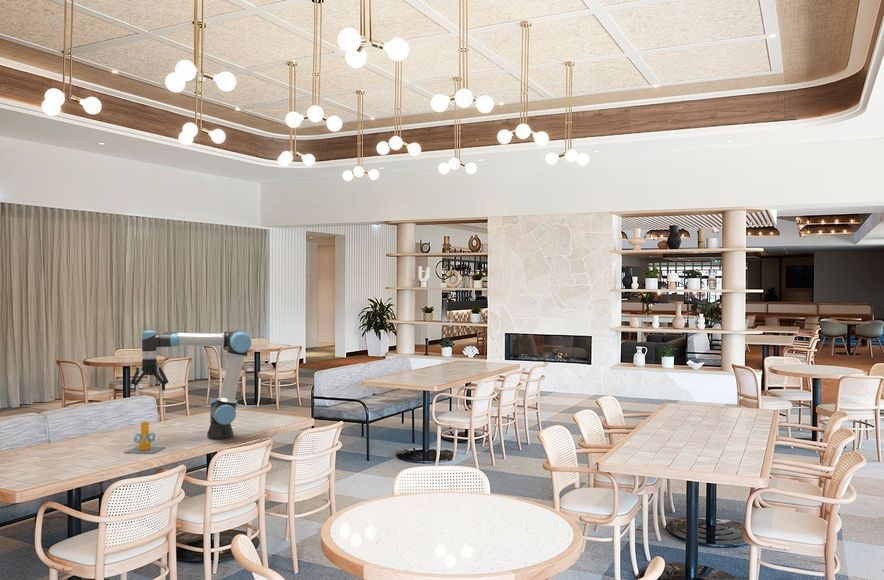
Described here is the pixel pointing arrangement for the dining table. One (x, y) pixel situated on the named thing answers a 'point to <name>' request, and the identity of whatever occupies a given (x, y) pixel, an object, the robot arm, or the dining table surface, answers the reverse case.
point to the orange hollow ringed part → (144, 437)
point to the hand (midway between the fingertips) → (149, 396)
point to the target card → (151, 451)
